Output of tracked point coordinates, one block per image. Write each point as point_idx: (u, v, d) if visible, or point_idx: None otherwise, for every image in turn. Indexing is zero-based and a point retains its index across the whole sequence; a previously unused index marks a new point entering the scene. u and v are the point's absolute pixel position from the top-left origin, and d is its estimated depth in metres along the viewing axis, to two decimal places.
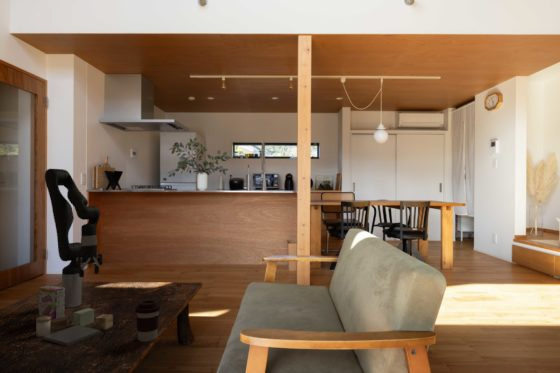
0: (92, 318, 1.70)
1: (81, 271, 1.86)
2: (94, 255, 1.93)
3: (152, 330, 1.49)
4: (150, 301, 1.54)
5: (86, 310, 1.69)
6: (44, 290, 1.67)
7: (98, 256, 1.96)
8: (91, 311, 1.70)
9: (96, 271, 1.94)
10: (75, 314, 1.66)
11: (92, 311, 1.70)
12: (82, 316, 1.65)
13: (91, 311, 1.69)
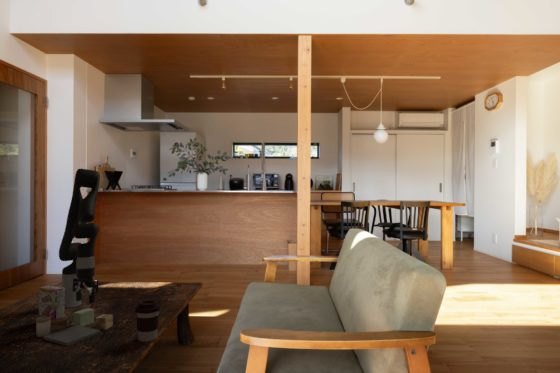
0: (92, 318, 1.70)
1: None
2: None
3: (152, 330, 1.49)
4: (150, 301, 1.54)
5: (86, 310, 1.69)
6: (44, 290, 1.67)
7: None
8: (91, 311, 1.70)
9: (80, 297, 1.71)
10: (75, 314, 1.66)
11: (92, 311, 1.70)
12: (82, 316, 1.65)
13: (91, 311, 1.69)
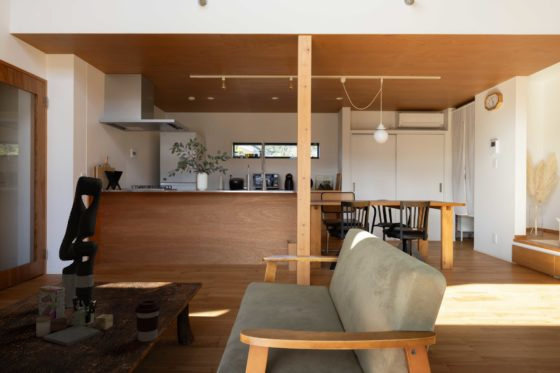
0: (92, 317, 1.70)
1: None
2: None
3: (152, 330, 1.49)
4: (150, 301, 1.54)
5: None
6: (44, 290, 1.67)
7: None
8: None
9: None
10: (75, 314, 1.66)
11: None
12: (82, 316, 1.65)
13: None
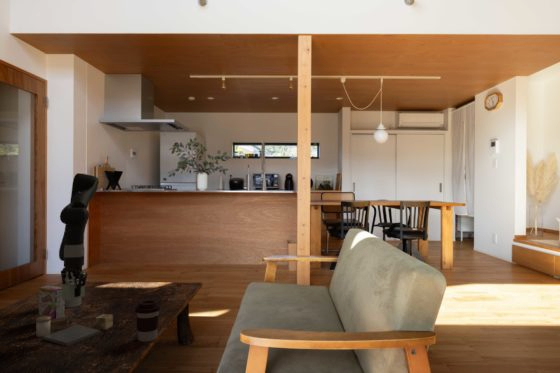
0: (82, 291, 1.55)
1: None
2: None
3: (152, 330, 1.49)
4: (150, 301, 1.54)
5: None
6: (44, 290, 1.67)
7: None
8: None
9: None
10: (64, 286, 1.52)
11: None
12: (71, 289, 1.51)
13: None
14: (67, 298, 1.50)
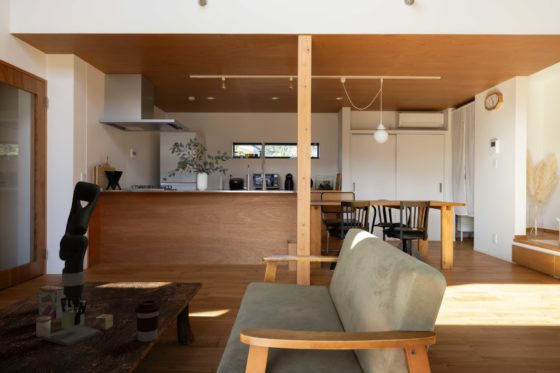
0: (82, 319, 1.55)
1: (79, 317, 1.53)
2: None
3: (152, 330, 1.49)
4: (150, 301, 1.54)
5: None
6: (44, 290, 1.67)
7: None
8: None
9: None
10: (63, 315, 1.51)
11: None
12: (71, 318, 1.51)
13: None
14: (67, 327, 1.50)
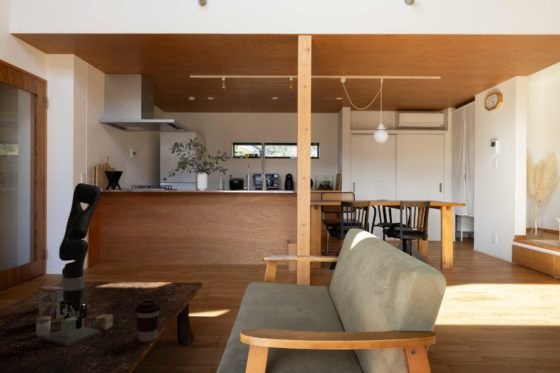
0: None
1: None
2: None
3: (152, 330, 1.49)
4: (150, 301, 1.54)
5: (75, 318, 1.55)
6: (44, 290, 1.67)
7: None
8: None
9: None
10: (63, 322, 1.51)
11: (82, 319, 1.55)
12: (70, 325, 1.51)
13: None
14: (66, 334, 1.50)
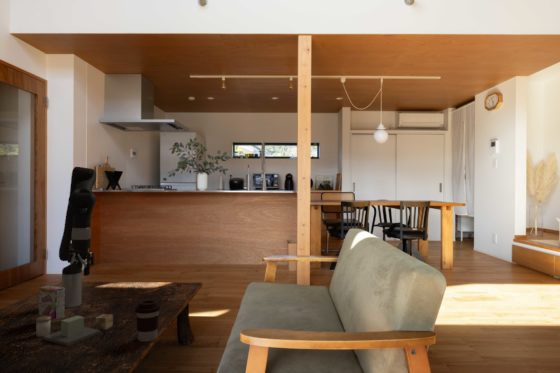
0: (81, 326, 1.55)
1: None
2: None
3: (152, 330, 1.49)
4: (150, 301, 1.54)
5: (75, 318, 1.55)
6: (44, 290, 1.67)
7: None
8: (80, 319, 1.55)
9: (75, 269, 1.65)
10: (63, 322, 1.51)
11: (82, 319, 1.55)
12: (70, 325, 1.51)
13: (80, 319, 1.55)
14: (66, 334, 1.50)
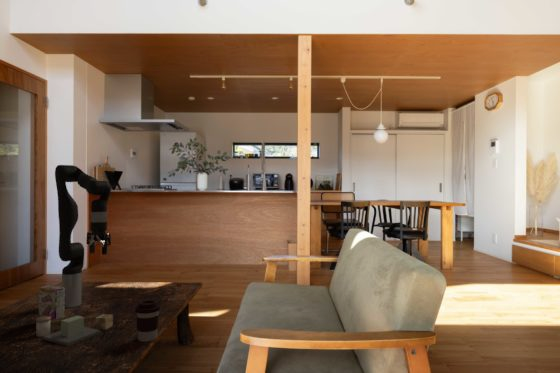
0: (81, 326, 1.55)
1: (106, 248, 1.80)
2: None
3: (152, 330, 1.49)
4: (150, 301, 1.54)
5: (75, 318, 1.55)
6: (44, 290, 1.67)
7: (92, 234, 1.84)
8: (80, 319, 1.55)
9: (93, 250, 1.83)
10: (63, 322, 1.51)
11: (82, 319, 1.55)
12: (70, 325, 1.51)
13: (80, 319, 1.55)
14: (66, 334, 1.50)
